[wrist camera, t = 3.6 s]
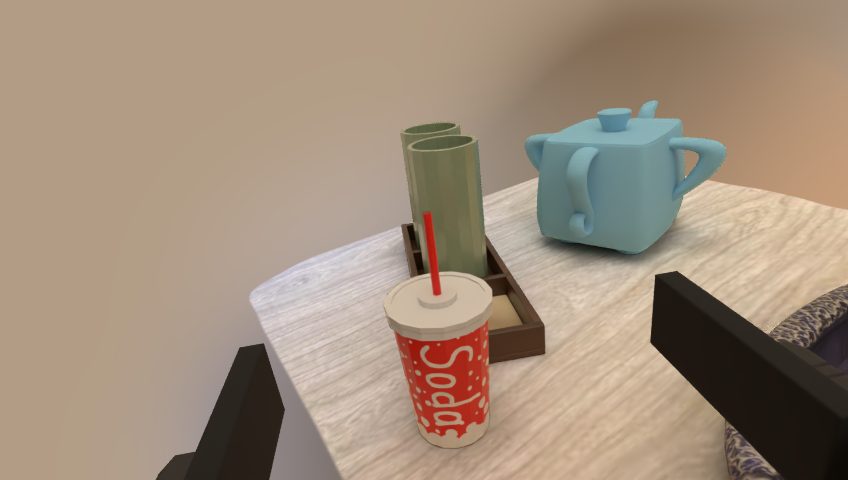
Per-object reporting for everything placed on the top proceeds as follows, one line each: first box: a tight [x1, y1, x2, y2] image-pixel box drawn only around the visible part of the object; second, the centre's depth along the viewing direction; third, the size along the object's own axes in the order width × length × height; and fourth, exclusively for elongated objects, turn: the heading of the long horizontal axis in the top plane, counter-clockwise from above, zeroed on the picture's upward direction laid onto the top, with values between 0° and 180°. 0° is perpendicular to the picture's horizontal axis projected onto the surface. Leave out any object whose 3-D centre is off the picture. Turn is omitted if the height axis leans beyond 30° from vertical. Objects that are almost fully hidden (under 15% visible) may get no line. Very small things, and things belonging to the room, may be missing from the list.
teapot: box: [525, 101, 726, 254], centre depth 50 cm, size 18×16×14 cm
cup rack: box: [401, 223, 545, 363], centre depth 45 cm, size 25×9×2 cm, turn 7°
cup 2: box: [407, 135, 488, 278], centre depth 42 cm, size 6×6×14 cm
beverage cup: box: [383, 211, 492, 448], centre depth 27 cm, size 6×6×14 cm
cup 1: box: [401, 122, 461, 250], centre depth 50 cm, size 6×6×14 cm
